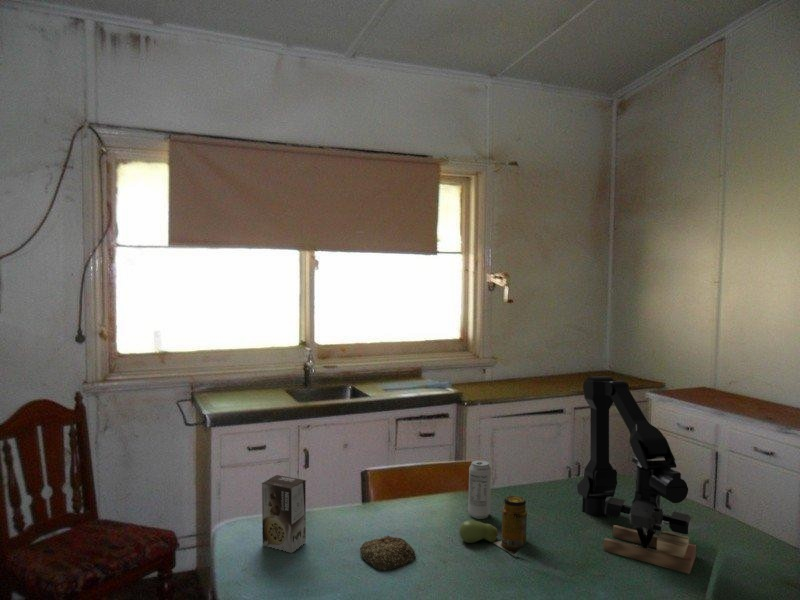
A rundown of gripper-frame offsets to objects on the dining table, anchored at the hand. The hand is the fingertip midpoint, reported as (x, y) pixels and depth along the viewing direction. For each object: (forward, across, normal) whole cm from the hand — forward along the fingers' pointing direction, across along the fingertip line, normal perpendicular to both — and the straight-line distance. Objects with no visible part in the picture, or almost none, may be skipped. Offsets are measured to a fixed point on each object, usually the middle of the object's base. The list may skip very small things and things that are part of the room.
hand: (645, 549), depth 143 cm
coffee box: (+3, -76, -45) cm, 88 cm away
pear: (+3, -37, -15) cm, 40 cm away
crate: (+1, +6, 0) cm, 6 cm away
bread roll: (+3, -51, -35) cm, 62 cm away
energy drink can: (+3, -44, -1) cm, 44 cm away
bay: (+2, +1, 0) cm, 2 cm away
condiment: (+2, -28, -13) cm, 31 cm away
